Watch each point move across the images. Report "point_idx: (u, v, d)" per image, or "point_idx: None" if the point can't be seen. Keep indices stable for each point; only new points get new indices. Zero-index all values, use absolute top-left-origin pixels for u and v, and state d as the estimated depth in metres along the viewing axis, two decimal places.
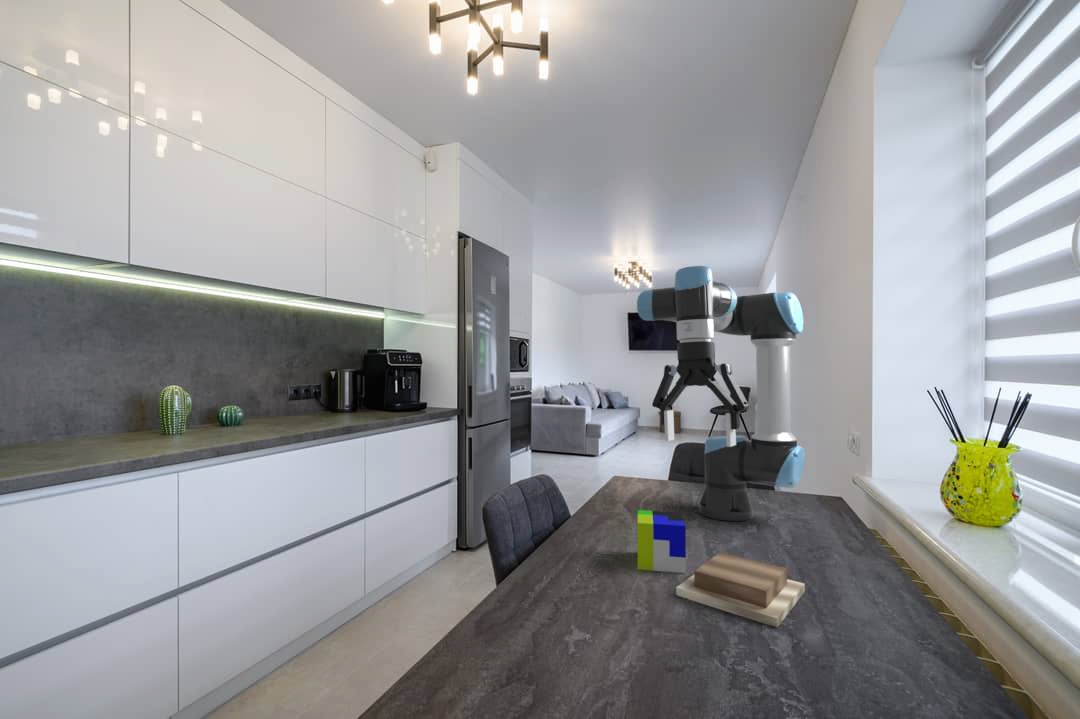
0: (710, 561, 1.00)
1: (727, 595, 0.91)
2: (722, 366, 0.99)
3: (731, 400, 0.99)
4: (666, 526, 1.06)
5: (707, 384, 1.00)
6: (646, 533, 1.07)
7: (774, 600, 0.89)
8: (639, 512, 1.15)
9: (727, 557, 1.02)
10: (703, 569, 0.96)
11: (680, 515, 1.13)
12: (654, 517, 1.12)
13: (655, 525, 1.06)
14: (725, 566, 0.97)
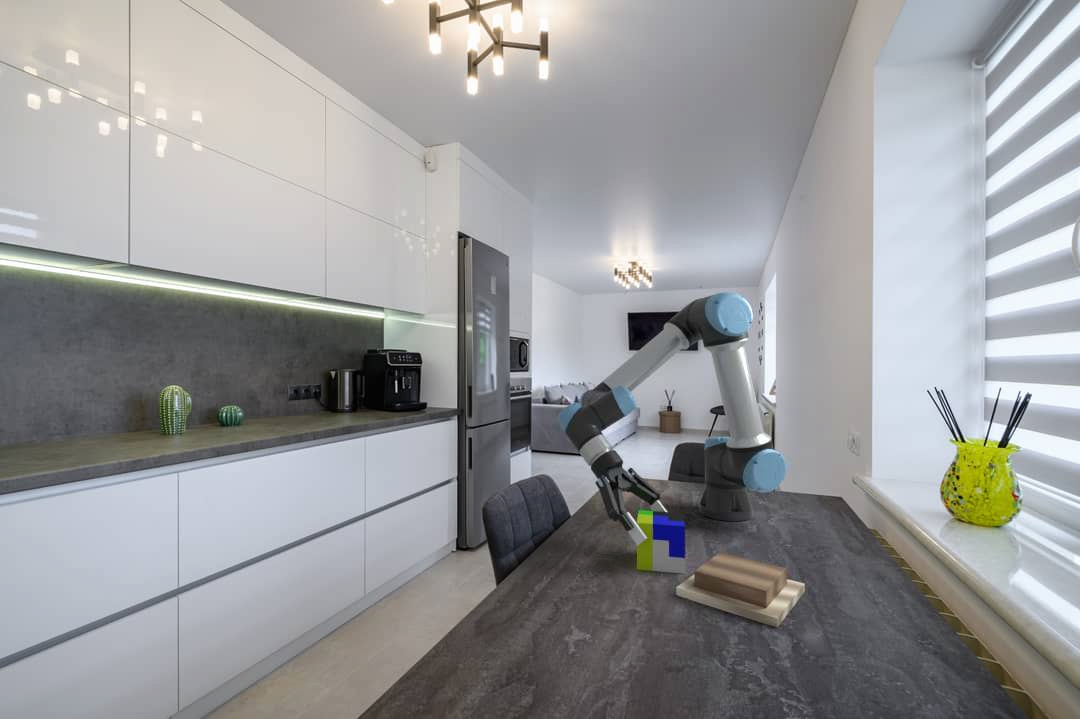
0: (710, 561, 1.00)
1: (727, 595, 0.91)
2: None
3: (617, 505, 1.10)
4: (666, 526, 1.06)
5: None
6: (645, 533, 1.07)
7: (774, 600, 0.89)
8: (640, 512, 1.15)
9: (727, 557, 1.02)
10: (703, 569, 0.96)
11: (680, 516, 1.12)
12: (654, 517, 1.11)
13: (655, 525, 1.06)
14: (725, 566, 0.97)
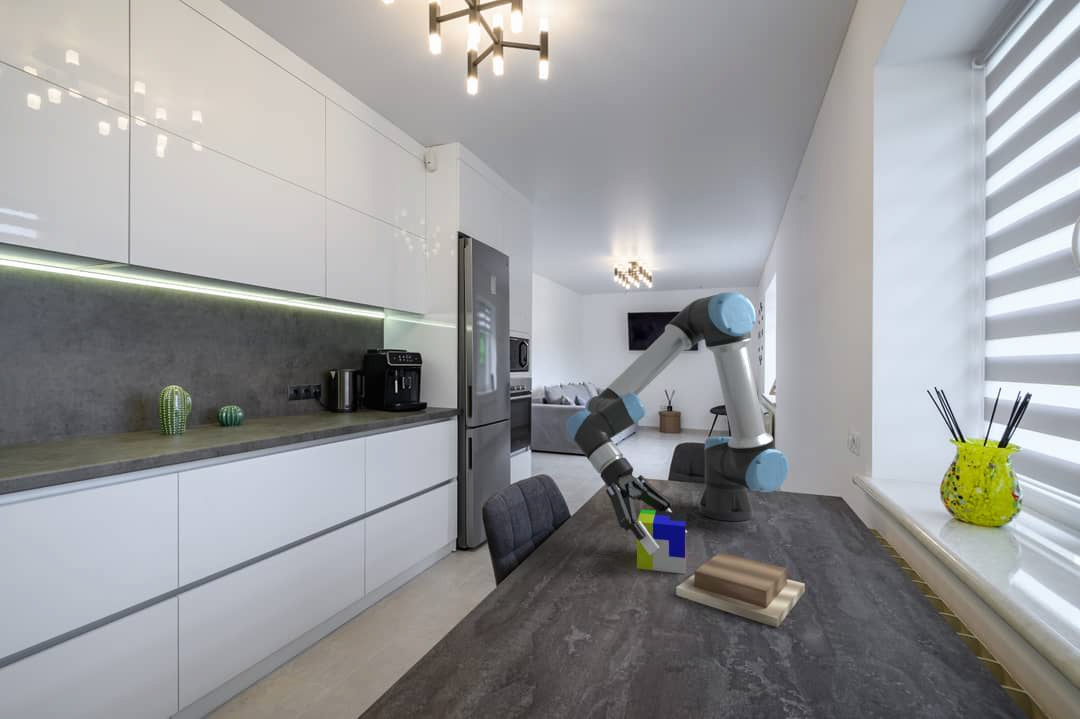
0: (710, 561, 1.00)
1: (727, 595, 0.91)
2: None
3: (629, 514, 1.08)
4: (666, 525, 1.06)
5: None
6: None
7: (774, 600, 0.89)
8: (642, 512, 1.15)
9: (727, 557, 1.02)
10: (703, 569, 0.96)
11: (682, 516, 1.12)
12: (655, 516, 1.11)
13: (655, 524, 1.06)
14: (725, 566, 0.97)
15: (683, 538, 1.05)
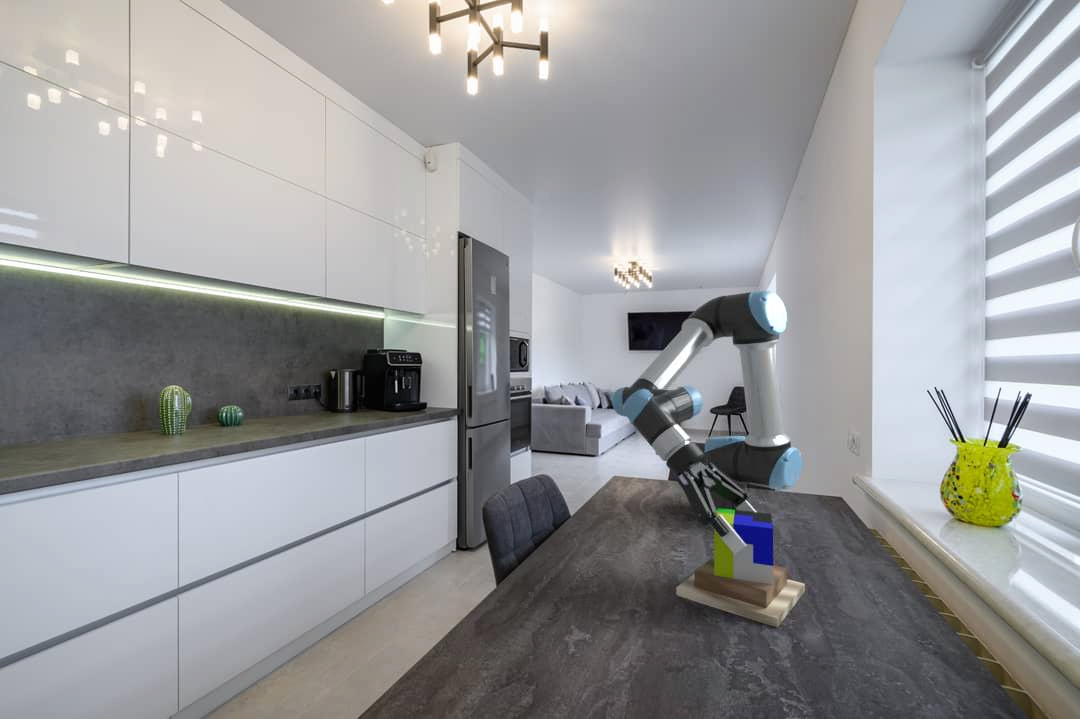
0: (710, 561, 1.00)
1: (727, 595, 0.91)
2: None
3: None
4: (749, 527, 0.91)
5: None
6: None
7: (774, 600, 0.89)
8: (719, 511, 1.00)
9: None
10: (703, 569, 0.96)
11: (768, 516, 0.96)
12: (736, 516, 0.96)
13: (736, 525, 0.92)
14: None
15: (771, 542, 0.89)
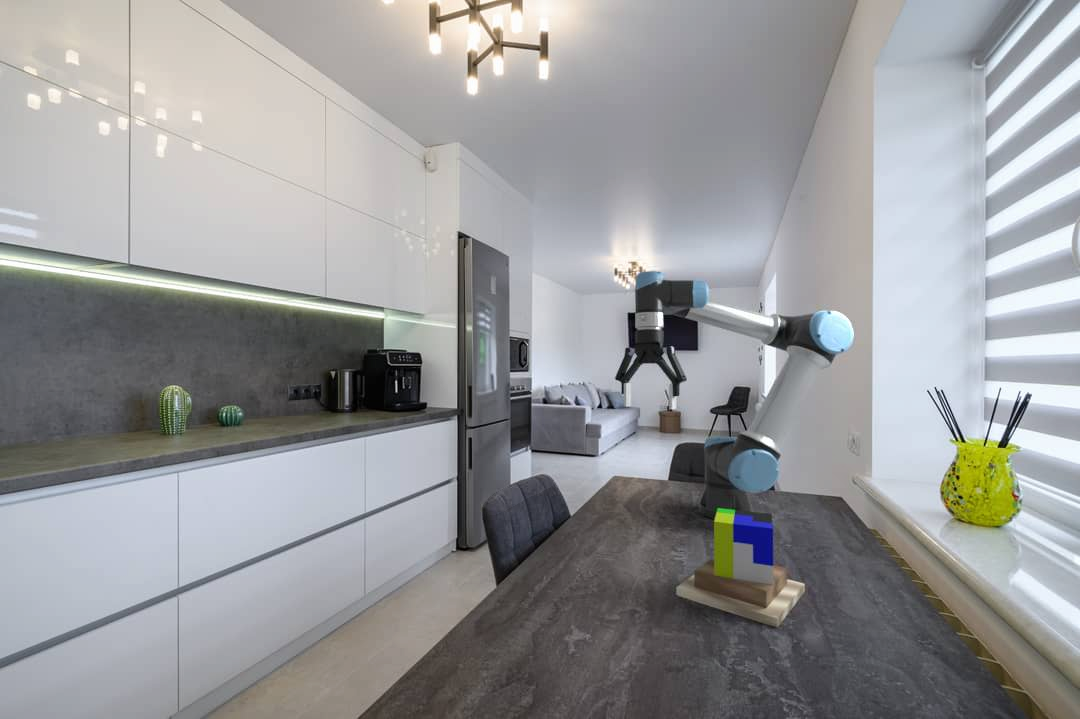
0: (710, 561, 1.00)
1: (727, 595, 0.91)
2: (668, 348, 1.30)
3: (674, 374, 1.30)
4: (749, 527, 0.91)
5: (656, 362, 1.31)
6: (724, 534, 0.92)
7: (774, 600, 0.89)
8: (719, 511, 1.00)
9: None
10: (703, 569, 0.96)
11: (768, 517, 0.96)
12: (736, 516, 0.96)
13: (736, 525, 0.92)
14: None
15: (771, 542, 0.89)
